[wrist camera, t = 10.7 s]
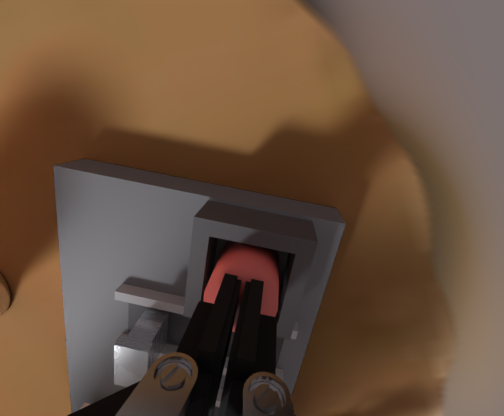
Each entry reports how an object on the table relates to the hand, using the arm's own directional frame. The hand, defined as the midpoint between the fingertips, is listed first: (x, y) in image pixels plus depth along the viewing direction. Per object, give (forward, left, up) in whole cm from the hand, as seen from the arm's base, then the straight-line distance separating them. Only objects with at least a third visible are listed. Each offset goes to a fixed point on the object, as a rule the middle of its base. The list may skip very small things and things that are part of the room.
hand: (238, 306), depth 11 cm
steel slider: (-6, +5, -4) cm, 9 cm away
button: (0, 0, -4) cm, 4 cm away
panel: (-9, +3, -7) cm, 12 cm away
